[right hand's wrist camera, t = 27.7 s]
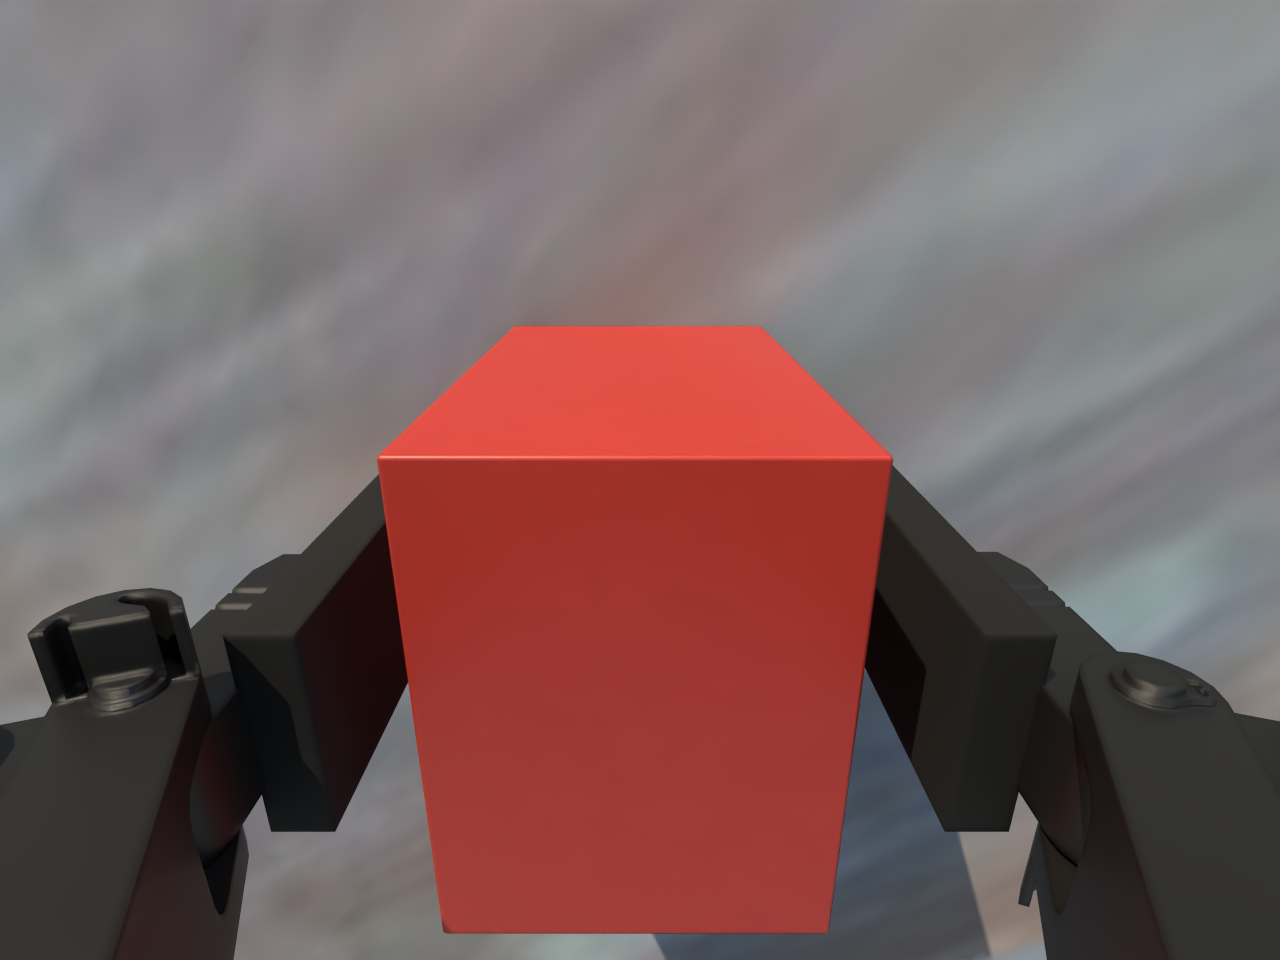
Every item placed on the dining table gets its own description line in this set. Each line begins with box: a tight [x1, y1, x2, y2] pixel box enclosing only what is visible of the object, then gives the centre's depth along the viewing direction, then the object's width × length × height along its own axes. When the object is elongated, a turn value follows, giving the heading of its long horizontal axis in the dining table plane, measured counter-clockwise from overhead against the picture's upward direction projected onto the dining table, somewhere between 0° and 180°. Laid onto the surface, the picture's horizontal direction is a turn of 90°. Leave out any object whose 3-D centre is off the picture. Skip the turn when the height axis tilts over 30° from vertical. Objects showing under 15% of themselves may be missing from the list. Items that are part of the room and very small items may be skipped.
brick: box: [377, 326, 893, 934], centre depth 12 cm, size 6×5×8 cm
